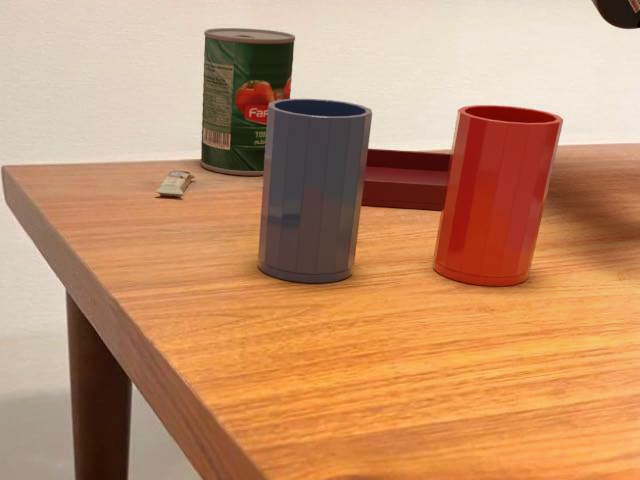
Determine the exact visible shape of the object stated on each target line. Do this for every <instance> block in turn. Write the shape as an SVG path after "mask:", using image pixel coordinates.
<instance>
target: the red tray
mask: <svg viewBox="0 0 640 480" xmlns="http://www.w3.org/2000/svg"><path fill="white" fill-rule="evenodd" d="M450 155H451V153H444V152H432V151H431V152H429V151H414V150H399V149H385V148H369V147H368V154H367V162H366V170H365V179H364V187H363V195H362V203H361V206H369V207H383V208H395V209H396V208H397V209H410V210H411V209H413V210H426V211H441V209H442V203H443V197H444V191H445V185H446V179H447V173H448V167H449V161H450Z"/></svg>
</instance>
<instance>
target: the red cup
mask: <svg viewBox="0 0 640 480" xmlns="http://www.w3.org/2000/svg"><path fill="white" fill-rule="evenodd" d="M563 123H564V119H563V117H561V116H560V115H558V114H555V113H551V112H549V111H545V110H540V109H534V108H529V107H522V106H521V107H520V106H512V105H497V104H474V105H468V106H467V105H466V106H462V107H460V108H459V109H457V113H456V119H455V126H454V131H453V137H452V143H451V149H450V154H451V155H450V161H449V167H448V173H447V179H446V185H445V191H444V197H443V203H442V209H441V210H440V216H439V222H438V227H437V228H438V229H437V234H436V240H435V247H434V251H433V263H432V266H433V269H434V271H435V272H437V274H439V275H441V276H443V277H445V278H448V279H451V280H453V281H457V282H460V283H465V284H470V285H475V286H486V287H506V286H507V287H509V286H514V285H519V284H521V283H524V282H525V281H527V279H528V277H529V273H530V269H532V268H531V267H532V265H533V264H532V263H533V258H534V254H535V249H536V245H537V240H538V236H539V232H540V228H541V223H542V218H543V213H544V209H545V205H546V199H547V196H548V192H549V187H550V182H551V178H552V173H553V169H554V164H555V160H556V155H557V151H558V147H559V143H560V137H561V132H562V128H563Z"/></svg>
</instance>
